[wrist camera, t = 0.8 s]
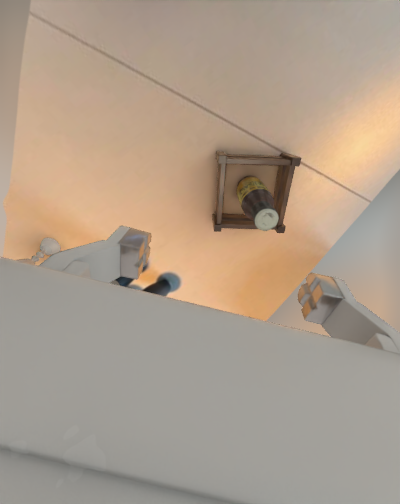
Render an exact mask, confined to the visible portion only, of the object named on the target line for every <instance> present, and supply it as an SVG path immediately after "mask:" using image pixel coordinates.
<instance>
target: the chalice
mask: <svg viewBox="0 0 400 504" xmlns="http://www.w3.org/2000/svg"><path fill="white" fill-rule="evenodd" d="M60 249H61V248H60V245H59V243H58V242H57V241H56V240H54V239H52V238H44V239H43V240H42V242H41V245H40V250H41V252H37V253H36V256H32V259H31V260H30V259H21V260H16V261H21V262H25V263H29V264H33V265H35V263H34V262H36V261H39V258H43V257H44V254H46V255H52V254H54V253H57V252H60Z"/></svg>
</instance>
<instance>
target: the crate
mask: <svg viewBox="0 0 400 504" xmlns="http://www.w3.org/2000/svg"><path fill="white" fill-rule="evenodd" d="M216 160H217V162H218V177H217V193H216V209H215V214H213V219H212V220H213V227H214V231H221V228H238V229H258V228H257V227H256V225H255V224H254V221H253V220H251V219H249V218H248V217H247V216H246V215H237V214H222V208H223V195H224V182H225V169H226V164H254V165H279V170H278V175H277V181H276V186H275V191H274V197H273V199H274V201H275V204H274V207H273V208H274V209H275V210H276V211H277V213H278V217H279V220H278V223H277V225H276V226H275V227H274V228H272V229H275V230H276V232H277V233H284V231H285V226H284V224H283V219H284V215H285V210H286V206H287V201H288V197H289V192H290V187H291V183H292V178H293V174H294V169H295V166H299V165H300V161H301V158H300V157H297V156H294V155H291V154H286V153H282V154H281V156H256V155H226V154H225V153H224V152H220V151H217V152H216Z"/></svg>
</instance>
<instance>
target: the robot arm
mask: <svg viewBox="0 0 400 504" xmlns="http://www.w3.org/2000/svg"><path fill="white" fill-rule="evenodd" d="M150 242H151V233H149V232H145V231H141V230H137V229H134V228H130V227H126V226H119V228H118V229H117V230H116V231H115V232H114V233H113V234H112V235H111V236H110V237H109V238H108V239H107V240H106V241H105V240H101V241H98V242H94V243H90V244H87V245H83V246H79V247H76V248H72V249H68V250H65V251H61V252H57V253H54V254H52V255H51V256H50V257H49V258H47V259H46V260H45V261H44V262H43V263H41V264H40V265H39V266H37V265H33V264H29V263H25V262H21V261H16V260H12V259H8V258H4V257H0V504H400V333H399V332H398V331H397V330H395V329H394V328H393V327H392V326H390V325H389V324H388V323H386V322H385V321H384V320H382V319H381V318H380V317H378V316H377V315H376V314H374V313H373V312H372V311H370V310H369V309H368V308H366V307H365V306H364V305H362V304H361V303H359V302H357V301H356V300H355V298H354V296H353V295H352V293H351V292H350V290H349V288H348V287H347V285H346V284H345V282H344V281H343V280H342V279H339V278H333V277H329V276H324V275H320V274H315V273H310V274H309V275H308V276H307V278H306V281H307V283H305V284H303V285H302V286H301V288H300V289H299V292H298V301H299V303H300V304H301V305H302V306H303V308H302V313H303V316H304V319H305V320H306V321H310V322H313V323H317V324H321V325H322V327H323V328H324V329H325V330H326V331H327V333H328V334H329V335H330V336H331V337H329V336H325V335H321V334H317V333H312V332H309V331H304V330H300V329H296V328H292V327H288V326H283V325H280V324H275V323H271V322H267V321H263V320H259V319H255V318H251V317H247V316H243V315H239V314H234V313H230V312H226V311H222V310H218V309H214V308H210V307H206V306H202V305H197V304H193V303H189V302H185V301H181V300H177V299H173V298H169V297H165V296H160V295H156V294H152V293H148V292H144V291H140V290H136V289H132V288H128V287H123V286H119V285H115V284H111V283H110V282H111V281H113V280H115V279H117V278H118V277H120V276H124V277H128V278H133V279H138V278H139V276H140V274H141V272H142V268H143V266H145V265H146V263H147V261H148V258H149V254H150V247H149V243H150Z"/></svg>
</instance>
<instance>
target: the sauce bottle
mask: <svg viewBox="0 0 400 504" xmlns="http://www.w3.org/2000/svg"><path fill="white" fill-rule="evenodd" d="M237 196H238V199H239V201H240V204H241V207H242V209H243V211H244V213H245V215H246V216H247V217H248V218H249V219H251V220H253V221H254V224H255V225H256V227H257V228H258V229H260V230H263V231H267V230H270V229H272V228H274V227H275V226H276V225H277V223H278V220H279V217H278V213H277V211H276V210H275V209H274V208H273V207H274V204H275V201H274V199H273V197H272V195H271V193H270V192H269V191H268V189H267V188H266V187H265V186H264V184H263V183H262V182H261V181H260V180H259V179H258V178H256V177H245V178H244V179H242V180H241V181H240V182H239V184H238V187H237Z"/></svg>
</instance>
